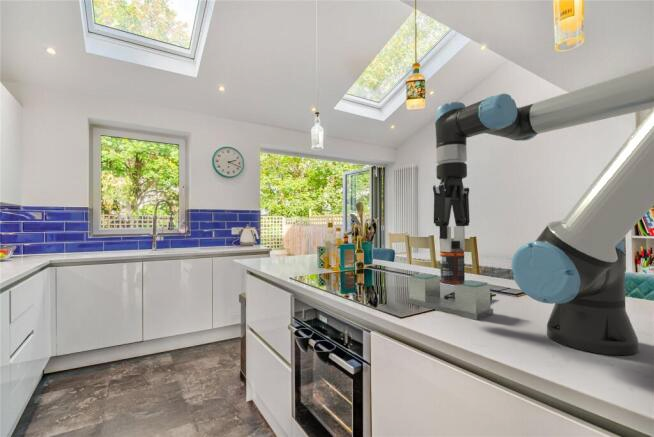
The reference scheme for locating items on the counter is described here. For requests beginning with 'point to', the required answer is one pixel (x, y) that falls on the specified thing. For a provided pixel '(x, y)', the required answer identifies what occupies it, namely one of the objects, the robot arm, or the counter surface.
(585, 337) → the robot arm
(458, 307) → the rail
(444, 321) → the counter surface
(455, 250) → the supplement bottle
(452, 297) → the disk drive
